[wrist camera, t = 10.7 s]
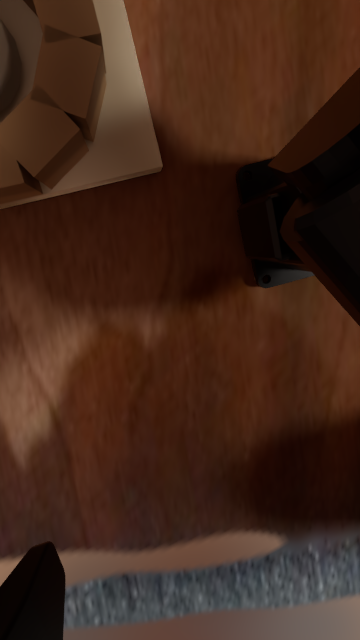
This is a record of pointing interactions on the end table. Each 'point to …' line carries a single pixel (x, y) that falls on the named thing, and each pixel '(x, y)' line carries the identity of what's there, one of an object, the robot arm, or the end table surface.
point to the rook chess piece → (8, 67)
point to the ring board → (73, 101)
